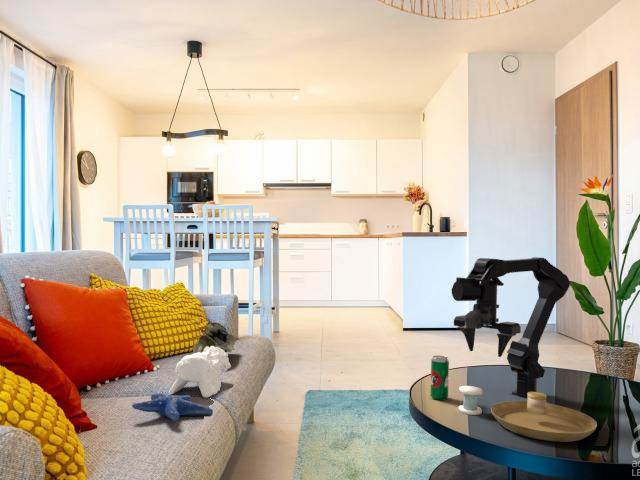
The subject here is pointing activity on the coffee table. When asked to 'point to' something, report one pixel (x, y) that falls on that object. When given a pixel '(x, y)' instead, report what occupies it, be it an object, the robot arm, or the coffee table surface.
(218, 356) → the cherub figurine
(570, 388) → the coffee table surface
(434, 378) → the soda can
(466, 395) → the white spool
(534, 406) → the brass peg
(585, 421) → the plant saucer
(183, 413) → the starfish
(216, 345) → the hollow geode rock
